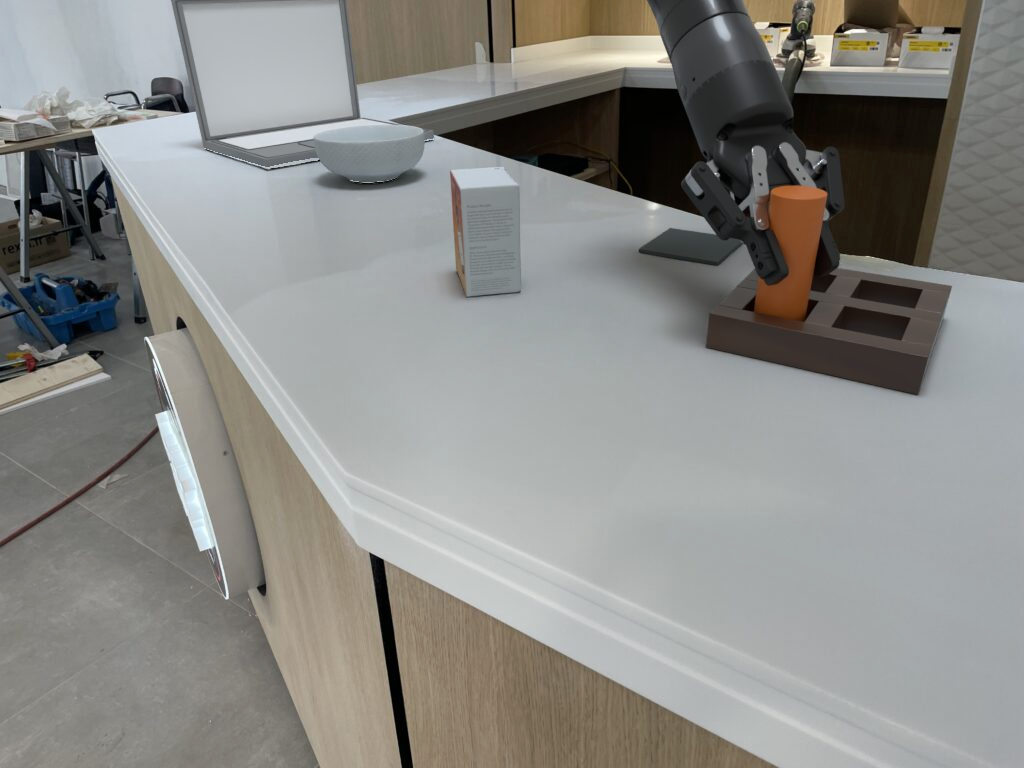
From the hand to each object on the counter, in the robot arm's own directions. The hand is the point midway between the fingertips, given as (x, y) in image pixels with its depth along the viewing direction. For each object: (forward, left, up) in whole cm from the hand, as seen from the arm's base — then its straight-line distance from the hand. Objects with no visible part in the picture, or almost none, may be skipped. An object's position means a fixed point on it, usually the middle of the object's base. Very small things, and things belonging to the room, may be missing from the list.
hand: (803, 275), depth 56 cm
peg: (-1, -2, -6) cm, 6 cm away
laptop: (-46, -101, -6) cm, 111 cm away
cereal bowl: (-29, -72, -6) cm, 78 cm away
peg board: (-4, +2, -6) cm, 8 cm away
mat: (-20, -16, -6) cm, 27 cm away
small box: (0, -30, -6) cm, 31 cm away
